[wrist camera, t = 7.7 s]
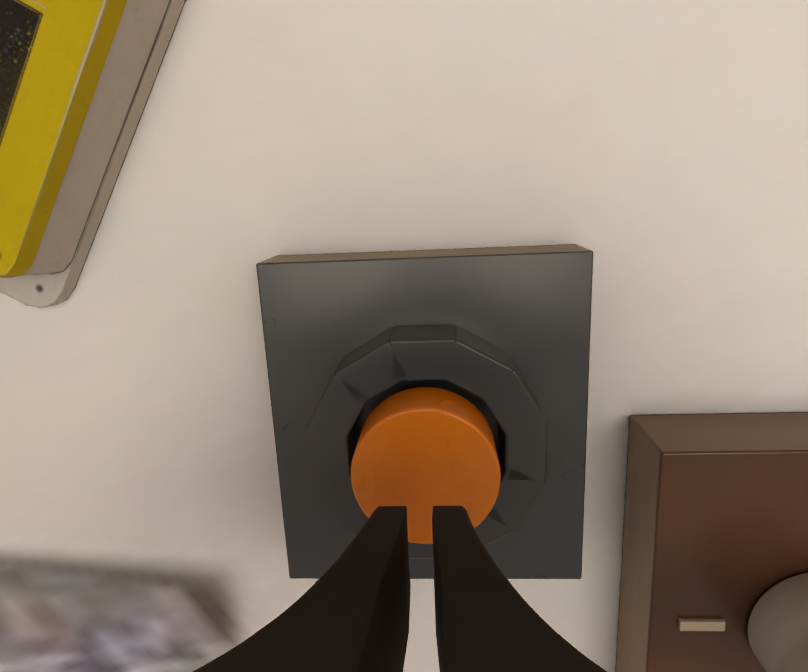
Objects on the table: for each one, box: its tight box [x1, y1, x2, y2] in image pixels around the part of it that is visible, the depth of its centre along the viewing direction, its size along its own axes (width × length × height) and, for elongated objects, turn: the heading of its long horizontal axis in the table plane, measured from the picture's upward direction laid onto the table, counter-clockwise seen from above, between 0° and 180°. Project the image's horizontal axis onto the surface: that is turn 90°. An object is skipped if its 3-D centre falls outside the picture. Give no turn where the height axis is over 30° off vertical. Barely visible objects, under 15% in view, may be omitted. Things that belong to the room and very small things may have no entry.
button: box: [351, 387, 501, 544], centre depth 16 cm, size 4×4×2 cm
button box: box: [256, 244, 593, 579], centre depth 18 cm, size 11×10×4 cm
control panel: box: [616, 413, 808, 672], centre depth 20 cm, size 12×10×3 cm
